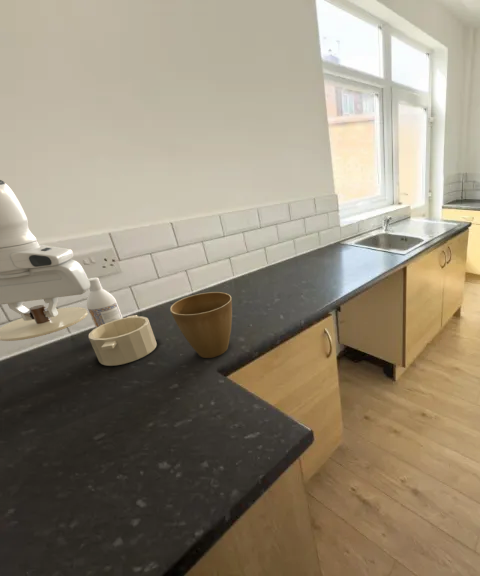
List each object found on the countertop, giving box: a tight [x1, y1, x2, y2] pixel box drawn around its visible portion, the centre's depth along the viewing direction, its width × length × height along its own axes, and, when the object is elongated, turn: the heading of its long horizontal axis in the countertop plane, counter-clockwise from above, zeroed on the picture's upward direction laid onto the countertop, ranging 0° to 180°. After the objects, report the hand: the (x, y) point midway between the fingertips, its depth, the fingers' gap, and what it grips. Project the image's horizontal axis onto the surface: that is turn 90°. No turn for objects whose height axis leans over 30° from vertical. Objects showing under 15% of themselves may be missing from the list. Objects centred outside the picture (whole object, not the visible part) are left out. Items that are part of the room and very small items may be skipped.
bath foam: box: [86, 276, 124, 328], centre depth 99 cm, size 7×7×20 cm
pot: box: [88, 314, 158, 367], centre depth 92 cm, size 14×19×8 cm
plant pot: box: [169, 291, 233, 359], centre depth 90 cm, size 15×15×16 cm
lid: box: [0, 304, 89, 342], centre depth 71 cm, size 15×15×5 cm
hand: (42, 317), depth 71 cm, fingers closed on lid, 2 cm apart
